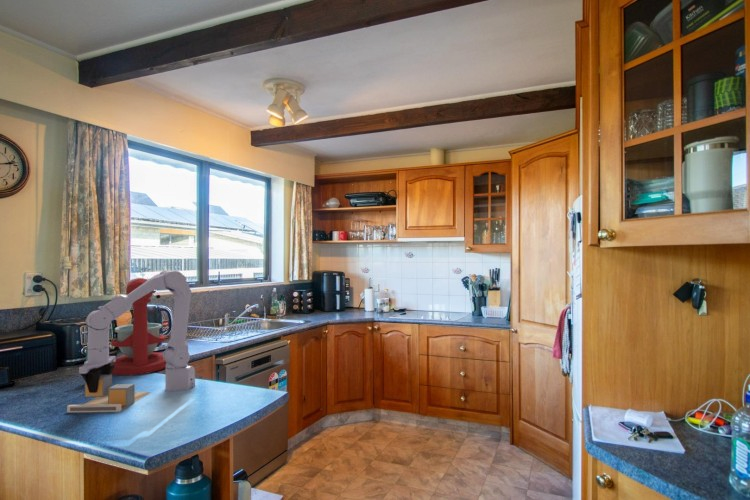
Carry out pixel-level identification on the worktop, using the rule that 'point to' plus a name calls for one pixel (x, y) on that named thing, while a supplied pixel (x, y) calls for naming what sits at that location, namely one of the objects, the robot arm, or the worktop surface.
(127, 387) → the faced box
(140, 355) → the stand mixer
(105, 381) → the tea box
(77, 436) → the worktop surface
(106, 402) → the shelf board
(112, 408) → the rail
